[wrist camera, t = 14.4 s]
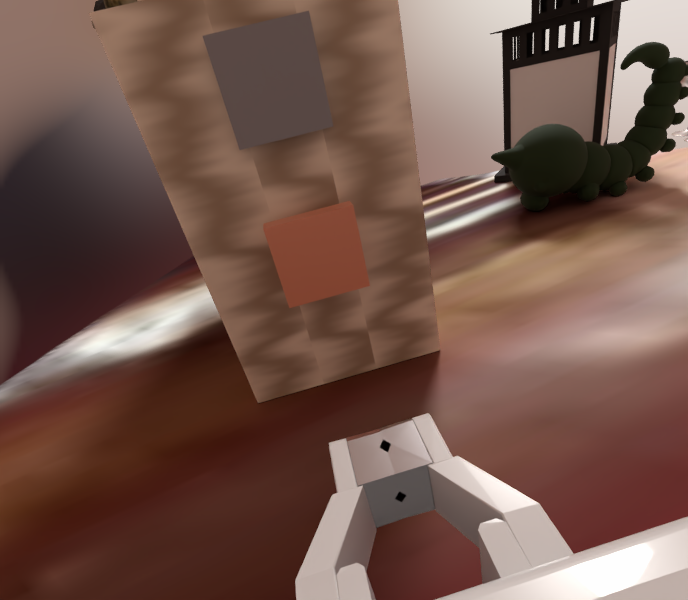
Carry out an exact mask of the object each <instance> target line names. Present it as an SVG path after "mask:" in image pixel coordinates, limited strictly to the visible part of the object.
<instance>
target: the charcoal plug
mask: <svg viewBox="0 0 688 600" xmlns="http://www.w3.org/2000/svg"><path fill="white" fill-rule="evenodd" d="M203 40H204V43H205V46H206V49H207V52H208V55H209V58H210V61H211V64H212V67H213V70H214V73H215V76H216V79H217V82H218V85H219V88H220V92H221V95H222V98H223V101H224V104H225V107H226V110H227V113H228V116H229V119H230V122H231V125H232V128H233V131H234V134H235V137H236V140H237V143H238V147H239V150H243V149H247V148H250V147H254V146H258V145H262V144H266V143H270V142H274V141H278V140H282V139H286V138H290V137H294V136H298V135H302V134H305V133H309V132H313V131H317V130H321V129H325V128H329V127H333V122H332V117H331V113H330V108H329V103H328V98H327V94H326V89H325V84H324V80H323V75H322V70H321V65H320V61H319V56H318V51H317V46H316V42H315V37H314V32H313V28H312V23H311V18H310V13H309V11H305V12H301V13H297V14H292V15H288V16H284V17H280V18H275V19H271V20H267V21H263V22H259V23H254V24H250V25H246V26H242V27H237V28H233V29H229V30H225V31H221V32H216V33H212V34H208V35H204V36H203Z"/></svg>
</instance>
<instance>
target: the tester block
mask: <svg viewBox="0 0 688 600" xmlns="http://www.w3.org/2000/svg"><path fill="white" fill-rule="evenodd" d="M305 11H309V13H310V18H311V23H312V28H313V32H314V37H315V42H316V46H317V51H318V56H319V61H320V65H321V70H322V75H323V80H324V84H325V89H326V94H327V98H328V103H329V108H330V113H331V117H332V122H333V127H329V128H325V129H321V130H317V131H313V132H309V133H305V134H302V135H298V136H294V137H290V138H286V139H282V140H278V141H274V142H270V143H266V144H262V145H258V146H254V147H250V148H247V149H243V150H239V147H238V143H237V140H236V137H235V134H234V131H233V128H232V125H231V122H230V119H229V116H228V113H227V110H226V107H225V104H224V101H223V98H222V95H221V92H220V88H219V85H218V82H217V79H216V76H215V73H214V70H213V67H212V64H211V61H210V58H209V55H208V52H207V49H206V46H205V43H204V40H203V36H204V35H208V34H212V33H216V32H221V31H225V30H229V29H233V28H237V27H242V26H246V25H250V24H254V23H259V22H263V21H267V20H271V19H275V18H280V17H284V16H288V15H292V14H297V13H301V12H305ZM89 15H90V17H91V19H92V22H93V24H94V26H95V29H96V31H97V33H98V36H99V38H100V40H101V42H102V45H103V47H104V49H105V52H106V54H107V56H108V58H109V61H110V63H111V65H112V68H113V70H114V72H115V75H116V77H117V79H118V82H119V84H120V86H121V89H122V91H123V93H124V95H125V97H126V100H127V102H128V105H129V107H130V109H131V111H132V114H133V116H134V119H135V121H136V123H137V125H138V128H139V130H140V132H141V135H142V137H143V139H144V142H145V144H146V146H147V148H148V151H149V153H150V155H151V158H152V160H153V162H154V164H155V167H156V169H157V172H158V174H159V176H160V178H161V181H162V183H163V185H164V188H165V190H166V192H167V195H168V197H169V199H170V201H171V204H172V206H173V208H174V211H175V213H176V215H177V217H178V220H179V222H180V225H181V227H182V229H183V231H184V233H185V236H186V238H187V241H188V243H189V245H190V247H191V250H192V252H193V255H194V257H195V259H196V261H197V264H198V266H199V268H200V271H201V273H202V275H203V278H204V280H205V282H206V284H207V287H208V289H209V291H210V294H211V296H212V298H213V301H214V303H215V305H216V308H217V310H218V312H219V314H220V317H221V319H222V321H223V324H224V326H225V328H226V331H227V333H228V335H229V337H230V340H231V342H232V344H233V347H234V349H235V351H236V354H237V356H238V358H239V361H240V363H241V365H242V367H243V370H244V372H245V374H246V377H247V379H248V381H249V384H250V386H251V388H252V390H253V393H254V395H255V397H256V400H257V402H258V403H261V402H264V401H267V400H271V399H274V398H278V397H281V396H285V395H288V394H291V393H295V392H298V391H302V390H305V389H309V388H312V387H316V386H319V385H322V384H326V383H329V382H333V381H336V380H340V379H343V378H346V377H350V376H353V375H357V374H360V373H364V372H367V371H370V370H374V369H377V368H381V367H384V366H388V365H391V364H395V363H398V362H401V361H405V360H408V359H412V358H415V357H419V356H422V355H425V354H429V353H432V352H436V351H439V350H440V343H439V335H438V327H437V319H436V310H435V302H434V294H433V286H432V277H431V269H430V261H429V253H428V244H427V236H426V228H425V220H424V211H423V203H422V195H421V187H420V178H419V170H418V162H417V154H416V145H415V138H414V129H413V121H412V112H411V104H410V97H409V89H408V80H407V71H406V63H405V55H404V48H403V38H402V30H401V22H400V14H399V5H398V0H143V1H138V2H134V3H129V4H125V5H121V6H116V7H112V8H108V9H103V10H99V11H95V12H90V13H89ZM347 201H350V202H351V203H352V204H353V206H354V211H355V216H356V221H357V225H358V230H359V235H360V240H361V245H362V249H363V254H364V259H365V264H366V269H367V274H368V278H369V283H370V286H368V287H364V288H360V289H357V290H353V291H350V292H346V293H342V294H339V295H335V296H332V297H328V298H324V299H321V300H317V301H314V302H310V303H307V304H303V305H299V306H296V307H292V308H289V306H288V303H287V299H286V296H285V293H284V290H283V287H282V284H281V281H280V278H279V275H278V272H277V269H276V266H275V263H274V260H273V257H272V254H271V251H270V248H269V245H268V242H267V239H266V236H265V233H264V230H263V224H264V223H268V222H271V221H275V220H279V219H283V218H286V217H290V216H294V215H298V214H301V213H305V212H309V211H313V210H316V209H320V208H324V207H328V206H332V205H335V204H339V203H343V202H347Z"/></svg>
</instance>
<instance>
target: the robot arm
mask: <svg viewBox="0 0 688 600" xmlns="http://www.w3.org/2000/svg"><path fill="white" fill-rule="evenodd" d="M329 451H330V456H331V462H332V467H333V473H334V479H335V484H336V490H337V493H336V494H333V495H332V496H331V498H330V501H329V503H328V505H327V508H326V510H325V512H324V515H323V517H322V519H321V522H320V524H319V526H318V529H317V531H316V533H315V536H314V538H313V540H312V543H311V545H310V547H309V550H308V552H307V554H306V557H305V559H304V561H303V564H302V566H301V568H300V571H299V573H298V575H297V578H296V580H295V585H296V600H376V598H375V595H374V593H373V590H372V587H371V584H370V581H369V578H368V575H367V573H366V572H367V567H368V563H369V559H370V555H371V551H372V547H373V543H374V539H375V535H376V531H377V530H376V528H377V527H380V526H383V525H386V524H389V523H392V522H395V521H398V520H400V519H403V518H405V517H410V516H413V515H417V514H421V513H424V512H428V511H431V510H435V509H436V511H437V512H438V513H439V514H440V515H441V516H442V517H444V518H445V519H446V520H447V521H448V522H449V523H451V524H452V525H453V526H454V527H455V528H456V529H458V530H459V531H460V532H461V533H462V534H463V535H465V536H466V537H467V538H468V539H469V540H471V541H472V542H473V543H474V544H475V545H476V546H478V547H479V548H480V559H481V571H482V583H483V584H481V585H478V586H475V587H472V588H469V589H466V590H463V591H460V592H457V593H454V594H451V595H448V596H445V597H442V598H438V599H435V600H688V517H685V518H682V519H679V520H676V521H673V522H670V523H667V524H664V525H661V526H658V527H655V528H652V529H649V530H646V531H643V532H639V533H636V534H633V535H630V536H627V537H624V538H621V539H618V540H615V541H612V542H609V543H606V544H603V545H600V546H597V547H594V548H591V549H588V550H585V551H582V552H579V553H576V554H573V552H572V551H571V549H570V548H569V547H568V545H567V544H566V542H565V541H564V539H563V538H562V536H561V535H560V533H559V532H558V530H557V529H556V527H555V526H554V525H553V523H552V522H551V520H550V519H549V517H548V516H547V514H546V513H545V511H544V510H543V508H542V507H541V506H540V504H539V503H538V502H536V501H534V500H532V499H531V498H529V497H527V496H526V495H524V494H522V493H520V492H519V491H517V490H515V489H514V488H512V487H510V486H509V485H507V484H505V483H503V482H502V481H500V480H498V479H497V478H495V477H493V476H492V475H490V474H488V473H486V472H485V471H483V470H481V469H480V468H478V467H476V466H474V465H473V464H471V463H469V462H468V461H466V460H464V459H463V458H461V457H459V456H456V457H453V456H452V454H451V453H450V451H449V449H448V447H447V445H446V443H445V441H444V439H443V438H442V436H441V434H440V432H439V430H438V428H437V426H436V424H435V423H434V421H433V419H432V417H431V415H430V414H428V413H427V414H424V415H420V416H417V417H414V418H412V419H411V418H410V419H407V420H404V421H401V422H397V423H394V424H391V425H388V426H385V427H382V428H379V429H376V430H373V431H369V432H365V433H362V434H358V435H354V436H351V437H347V438H344V439H341V440H337V441H334V442H330V443H329Z"/></svg>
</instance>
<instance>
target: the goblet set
mask: <svg viewBox="0 0 688 600" xmlns="http://www.w3.org/2000/svg"><path fill="white" fill-rule="evenodd" d="M685 63H686V64H688V61H685ZM680 83H681V84H682V87H684V86H686V87H688V76H684V78H683V79H682V80H681V81H680ZM672 135H673V136H688V128H687V130H683V131H678V132H675V133H672ZM684 141H686V142H688V138H687V139H685V140H684Z"/></svg>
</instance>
